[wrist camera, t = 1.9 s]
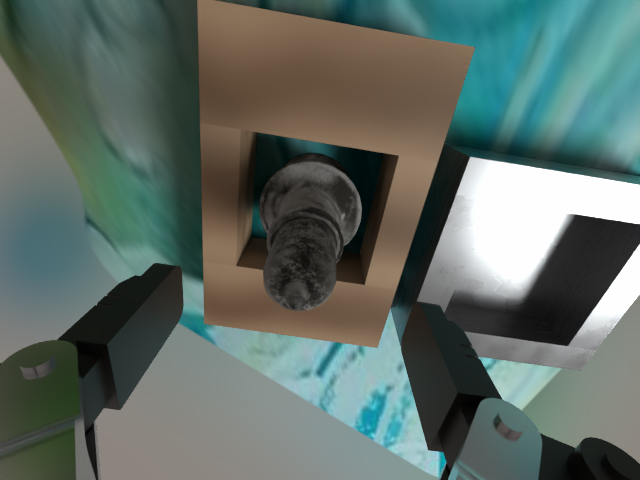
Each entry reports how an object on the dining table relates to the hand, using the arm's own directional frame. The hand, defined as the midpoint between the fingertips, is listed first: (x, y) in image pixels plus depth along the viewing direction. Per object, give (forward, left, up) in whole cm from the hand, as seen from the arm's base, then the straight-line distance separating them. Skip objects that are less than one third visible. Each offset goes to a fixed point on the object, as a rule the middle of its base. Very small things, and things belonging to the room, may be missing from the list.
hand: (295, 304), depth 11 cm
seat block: (+2, +14, -11) cm, 18 cm away
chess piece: (0, 0, -12) cm, 12 cm away
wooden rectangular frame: (0, 0, -11) cm, 11 cm away
